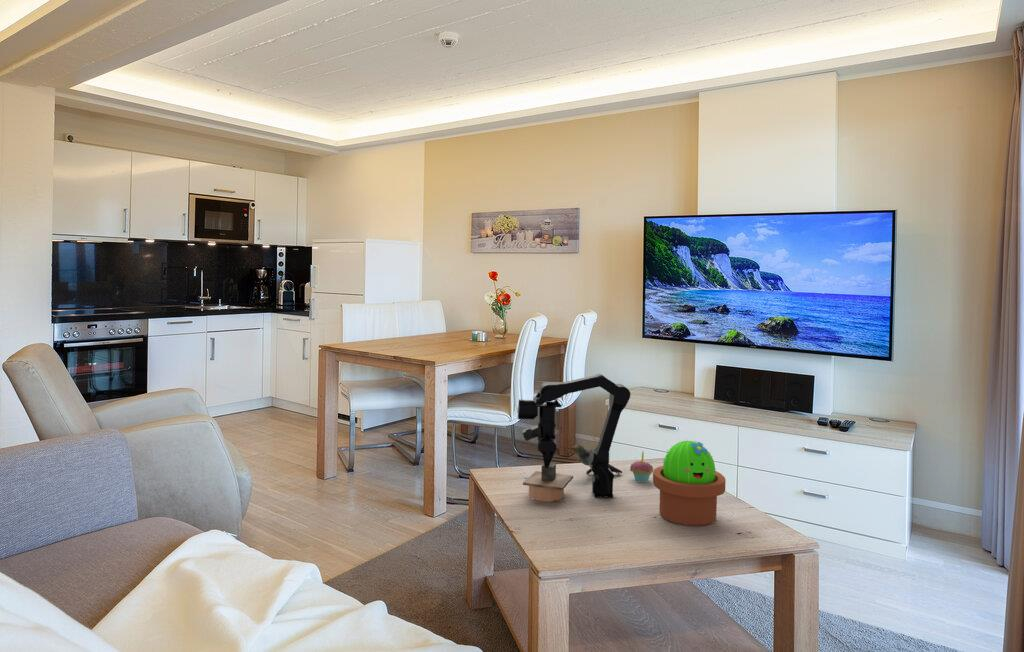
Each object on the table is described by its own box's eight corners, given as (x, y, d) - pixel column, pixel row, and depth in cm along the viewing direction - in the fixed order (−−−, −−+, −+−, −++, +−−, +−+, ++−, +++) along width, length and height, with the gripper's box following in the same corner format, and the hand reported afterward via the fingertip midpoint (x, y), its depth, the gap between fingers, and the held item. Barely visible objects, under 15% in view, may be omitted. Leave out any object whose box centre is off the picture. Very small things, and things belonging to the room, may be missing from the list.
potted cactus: (643, 504, 211) (645, 431, 209) (706, 503, 213) (709, 430, 211) (665, 530, 189) (667, 449, 187) (735, 529, 191) (738, 448, 189)
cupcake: (654, 484, 232) (655, 452, 231) (631, 483, 232) (632, 452, 231) (650, 476, 240) (651, 446, 239) (627, 476, 240) (628, 445, 239)
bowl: (562, 489, 224) (563, 476, 224) (564, 501, 212) (564, 487, 212) (529, 488, 225) (529, 475, 224) (528, 500, 213) (528, 486, 212)
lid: (573, 477, 222) (573, 461, 222) (562, 490, 209) (562, 473, 208) (535, 473, 227) (535, 457, 226) (522, 484, 214) (523, 468, 213)
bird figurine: (617, 468, 248) (593, 426, 244) (626, 476, 238) (602, 433, 235) (589, 486, 247) (565, 445, 243) (597, 495, 237) (572, 452, 233)
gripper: (524, 413, 226) (523, 455, 227) (523, 425, 207) (522, 471, 209) (555, 413, 226) (554, 456, 227) (556, 426, 207) (555, 472, 208)
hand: (546, 463), depth 218 cm, fingers open, 9 cm apart
